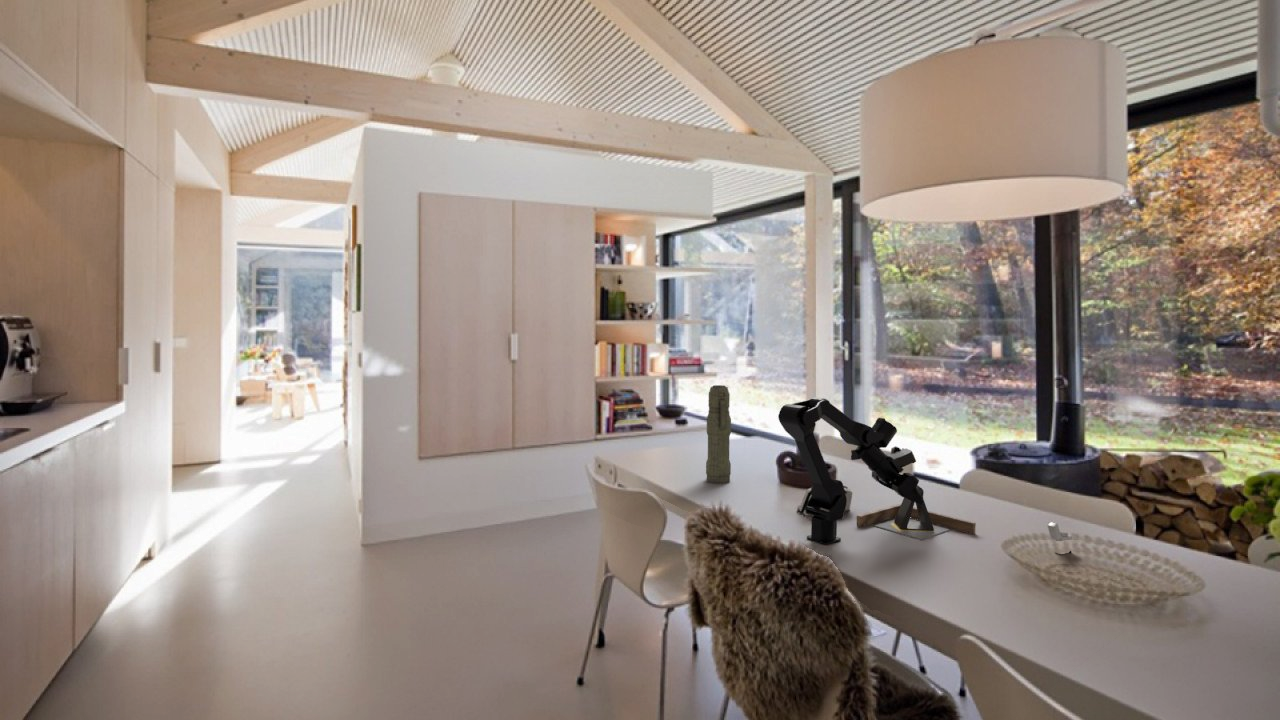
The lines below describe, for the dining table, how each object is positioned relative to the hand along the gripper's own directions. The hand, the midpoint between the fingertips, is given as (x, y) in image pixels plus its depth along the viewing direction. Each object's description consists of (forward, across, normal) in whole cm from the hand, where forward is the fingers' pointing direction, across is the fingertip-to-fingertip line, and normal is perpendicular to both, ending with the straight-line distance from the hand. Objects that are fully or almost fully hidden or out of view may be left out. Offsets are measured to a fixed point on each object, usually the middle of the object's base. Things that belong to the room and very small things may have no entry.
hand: (914, 499), depth 174 cm
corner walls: (+6, -1, +6) cm, 8 cm away
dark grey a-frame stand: (+6, 0, +6) cm, 8 cm away
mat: (+6, 0, +6) cm, 8 cm away
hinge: (-8, +17, +20) cm, 27 cm away
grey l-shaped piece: (+25, -20, -13) cm, 35 cm away
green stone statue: (-27, +56, +39) cm, 73 cm away
